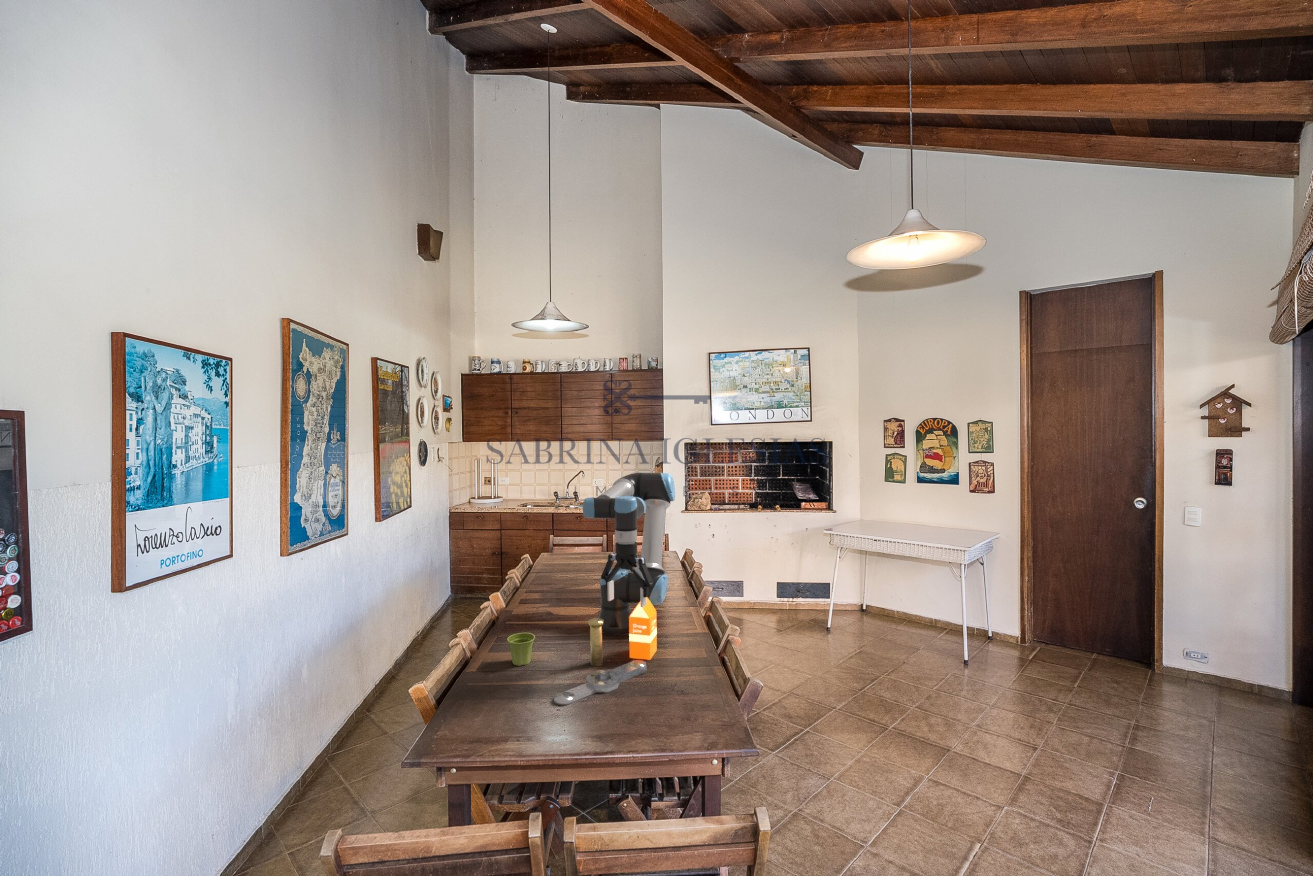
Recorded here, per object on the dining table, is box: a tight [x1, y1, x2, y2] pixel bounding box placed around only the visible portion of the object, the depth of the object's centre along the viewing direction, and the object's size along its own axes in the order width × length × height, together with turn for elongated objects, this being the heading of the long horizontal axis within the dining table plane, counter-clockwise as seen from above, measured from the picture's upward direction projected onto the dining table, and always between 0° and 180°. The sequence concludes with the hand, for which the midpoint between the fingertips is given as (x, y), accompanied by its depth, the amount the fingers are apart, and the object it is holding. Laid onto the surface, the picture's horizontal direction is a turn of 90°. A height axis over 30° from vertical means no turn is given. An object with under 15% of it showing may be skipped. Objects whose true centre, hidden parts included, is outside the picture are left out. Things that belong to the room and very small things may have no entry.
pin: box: [587, 617, 604, 667], centre depth 202 cm, size 5×5×15 cm
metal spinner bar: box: [553, 659, 647, 706], centre depth 186 cm, size 35×10×2 cm, turn 133°
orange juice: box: [628, 598, 658, 661], centre depth 209 cm, size 8×9×20 cm
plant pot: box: [506, 632, 536, 667], centre depth 204 cm, size 9×9×9 cm
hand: (626, 603), depth 202 cm, fingers open, 13 cm apart
